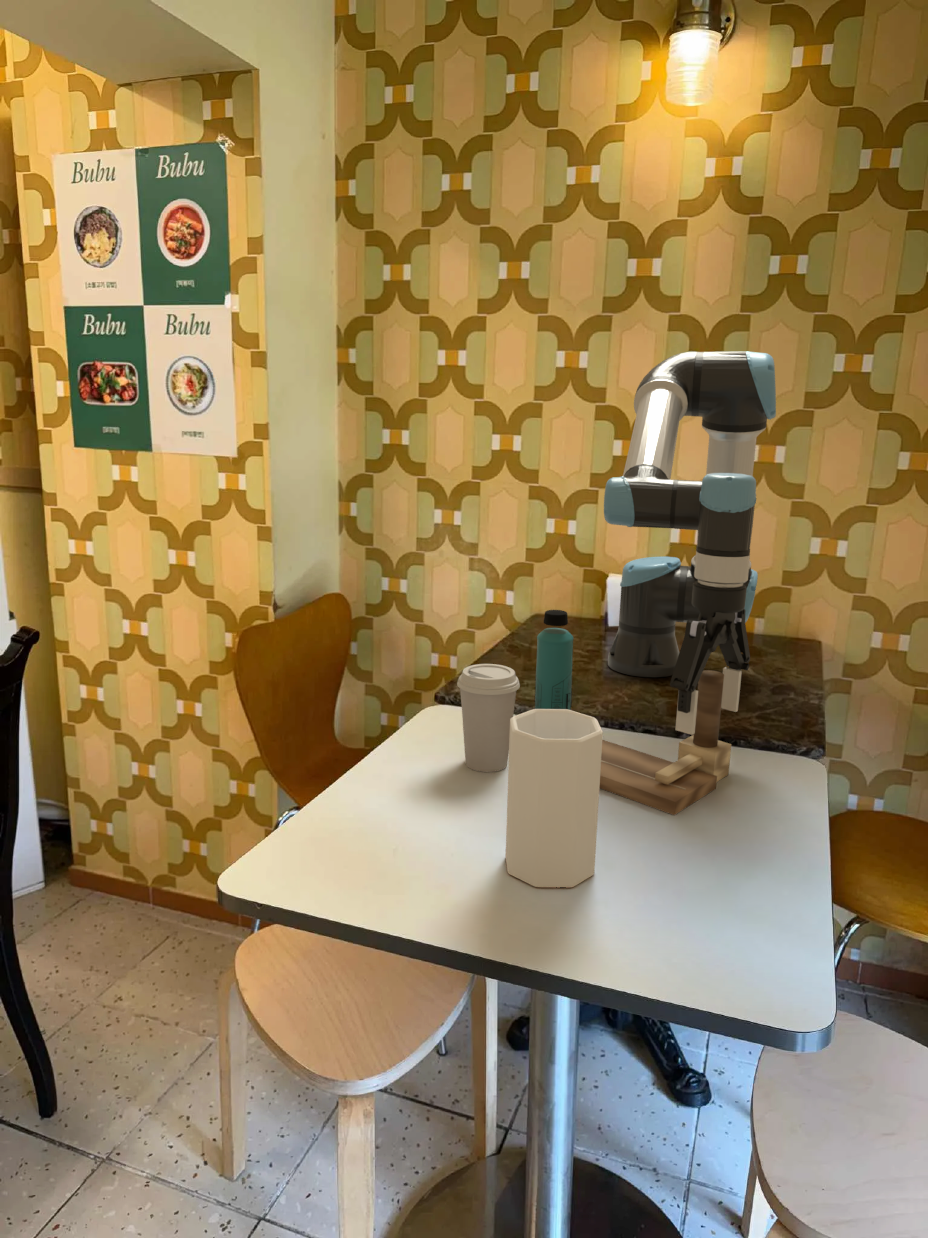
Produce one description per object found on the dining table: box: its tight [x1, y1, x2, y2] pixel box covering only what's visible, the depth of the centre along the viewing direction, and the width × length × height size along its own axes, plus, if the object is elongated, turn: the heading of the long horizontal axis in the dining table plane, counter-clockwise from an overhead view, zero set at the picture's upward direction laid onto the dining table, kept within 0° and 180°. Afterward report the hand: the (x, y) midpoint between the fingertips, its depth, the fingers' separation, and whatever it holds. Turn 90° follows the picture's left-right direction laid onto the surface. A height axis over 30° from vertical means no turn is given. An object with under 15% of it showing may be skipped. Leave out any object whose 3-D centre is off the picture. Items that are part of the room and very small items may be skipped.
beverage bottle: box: [533, 609, 574, 710], centre depth 156 cm, size 6×7×20 cm
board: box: [599, 739, 718, 816], centre depth 136 cm, size 12×26×2 cm, turn 47°
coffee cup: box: [456, 663, 521, 773], centre depth 138 cm, size 10×10×15 cm
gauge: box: [655, 669, 732, 785], centre depth 132 cm, size 15×6×16 cm, turn 137°
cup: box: [505, 708, 604, 889], centre depth 108 cm, size 11×11×18 cm
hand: (707, 720), depth 136 cm, fingers open, 13 cm apart
